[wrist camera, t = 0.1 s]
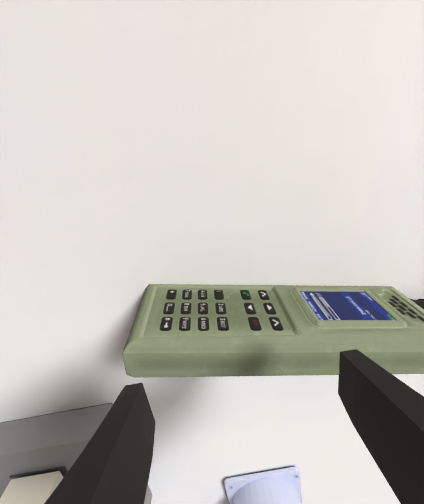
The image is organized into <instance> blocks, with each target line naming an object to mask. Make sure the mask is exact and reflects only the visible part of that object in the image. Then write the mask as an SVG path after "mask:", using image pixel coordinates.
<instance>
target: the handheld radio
mask: <svg viewBox="0 0 424 504" xmlns="http://www.w3.org/2000/svg"><path fill="white" fill-rule="evenodd" d="M354 349H357V350H359V351H360V352H361V353H363V354H364V355H366V356H367V357H368V358H370V359H371V360H373V361H374V362H375V363H377V364H378V365H379V366H381V367H382V368H384V369H385V370H386V371H388V372H389V373H391V374H424V299H418V300H412V299H409V298H407V297H406V296H405V295H403V294H402V293H401V292H399V291H398V290H397V289H395V288H394V287H380V286H284V285H163V284H150V285H148V286H147V288H146V290H145V292H144V295H143V298H142V301H141V303H140V306H139V309H138V312H137V315H136V317H135V320H134V323H133V326H132V329H131V331H130V334H129V337H128V340H127V343H126V345H125V348H124V351H123V358H124V364H125V370H126V374H127V375H129V376H132V377H207V376H282V375H339V359H340V352H341V351H347V350H354Z"/></svg>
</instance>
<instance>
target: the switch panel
mask: <svg viewBox="0 0 424 504" xmlns="http://www.w3.org/2000/svg"><path fill="white" fill-rule="evenodd" d="M111 407H112V404H111V403H109V404H104V405H98V406H92V407H87V408H81V409H76V410H70V411H64V412H59V413H53V414H48V415H42V416H37V417H31V418H25V419H20V420H14V421H9V422H3V423H0V498H1V496H2V494H3V493H4V491H5V489H6V487H7V486H8V484H9V482H10V480H11V479H16V478H22V477H28V476H33V475H39V474H45V473H50V472H56V471H60V473H61V474H62V476H63V477H64V476H65V475H66V473H67V472H68V471H69V469H70V468H71V467H72V465H73V464H74V462H75V461H76V460H77V458H78V457H79V455H80V454H81V452H82V451H83V450H84V448H85V447H86V445H87V444H88V442H89V441H90V439H91V438H92V436H93V435H94V433H95V432H96V430H97V429H98V427H99V426H100V424H101V423H102V421H103V419H104V418H105V416H106V415H107V413H108V412H109V410H110V409H111ZM151 498H152V494H151V491H150V489H149V487H148V485H147V490H146V495H145V501H144V504H151Z"/></svg>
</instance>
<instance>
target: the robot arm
mask: <svg viewBox="0 0 424 504" xmlns="http://www.w3.org/2000/svg"><path fill="white" fill-rule="evenodd" d="M338 394H339V396H340V398H341V400H342V402H343V405H344V407H345V409H346V411H347V413H348V415H349V417H350V419H351V421H352V423H353V425H354V427H355V429H356V430H357V432H358V434H359V435H360V437H361V439H362V440H363V442H364V444H365V445H366V447H367V449H368V450H369V452H370V454H371V455H372V457H373V459H374V460H375V462H376V463H377V465H378V467H379V468H380V470H381V472H382V473H383V475H384V477H385V478H386V480H387V482H388V483H389V485H390V487H391V488H392V490H393V491H394V493H395V495H396V496H397V498H398V500H399V501H400V503H401V504H424V397H423V396H422V395H420V394H419V393H418V392H416V391H415V390H413V389H412V388H410V387H409V386H407V385H406V384H405V383H403V382H402V381H400V380H399V379H397V378H396V377H395V376H393V375H392V374H391V373H389V372H388V371H386V370H385V369H384V368H382V367H381V366H379V365H378V364H377V363H375V362H374V361H373V360H371V359H370V358H368V357H367V356H366V355H364V354H363V353H361V352H360V351H359V350H357V349H354V350H347V351H341V352H340V359H339V386H338ZM154 432H155V420H154V417H153V414H152V411H151V408H150V405H149V402H148V399H147V396H146V393H145V390H144V387H143V384H142V383H138V384H132V385H126V386H125V387H124V388H123V390H122V391H121V393H120V394H119V396H118V398H117V399H116V401H115V402H114V404H113V405H112V407H111V409H110V410H109V412H108V413H107V415H106V416H105V418H104V419H103V421H102V423H101V424H100V426H99V427H98V429H97V430H96V432H95V433H94V435H93V436H92V438H91V439H90V441H89V442H88V444H87V445H86V447H85V448H84V450H83V451H82V452H81V454H80V455H79V457H78V458H77V460H76V461H75V462H74V464H73V465H72V467H71V468H70V469H69V471H68V472H67V473H66V475H65V476H64V478H63V479H62V480H61V482H60V483H59V485H58V486H57V487H56V489H55V490H54V491H53V493H52V494H51V495H50V497H49V498H48V499H47V500H46V502H45V503H44V504H144V501H145V495H146V490H147V484H148V479H149V473H150V467H151V462H152V456H153V444H154ZM224 486H225V489H226V493H227V497H228V501H229V504H302V494H301V482H300V472H299V469H298V468H297V467H289V468H283V469H278V470H272V471H266V472H260V473H255V474H249V475H243V476H237V477H232V478H227V479H225V481H224Z"/></svg>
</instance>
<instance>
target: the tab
mask: <svg viewBox="0 0 424 504" xmlns="http://www.w3.org/2000/svg"><path fill="white" fill-rule="evenodd" d="M63 478H64V477H63V476H62V474H61V473H60V471H56V472H50V473H45V474H39V475H33V476H28V477H22V478H16V479H11V480H10V482H9V484H8V486H7V487H6V489H5V491H4V493H3V494H2V496H1V498H0V504H44V503H45V502H46V500H47V499H48V498H49V497H50V495H51V494H52V493H53V491H54V490H55V489H56V487H57V486H58V485H59V483H60V482H61V480H62V479H63Z"/></svg>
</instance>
